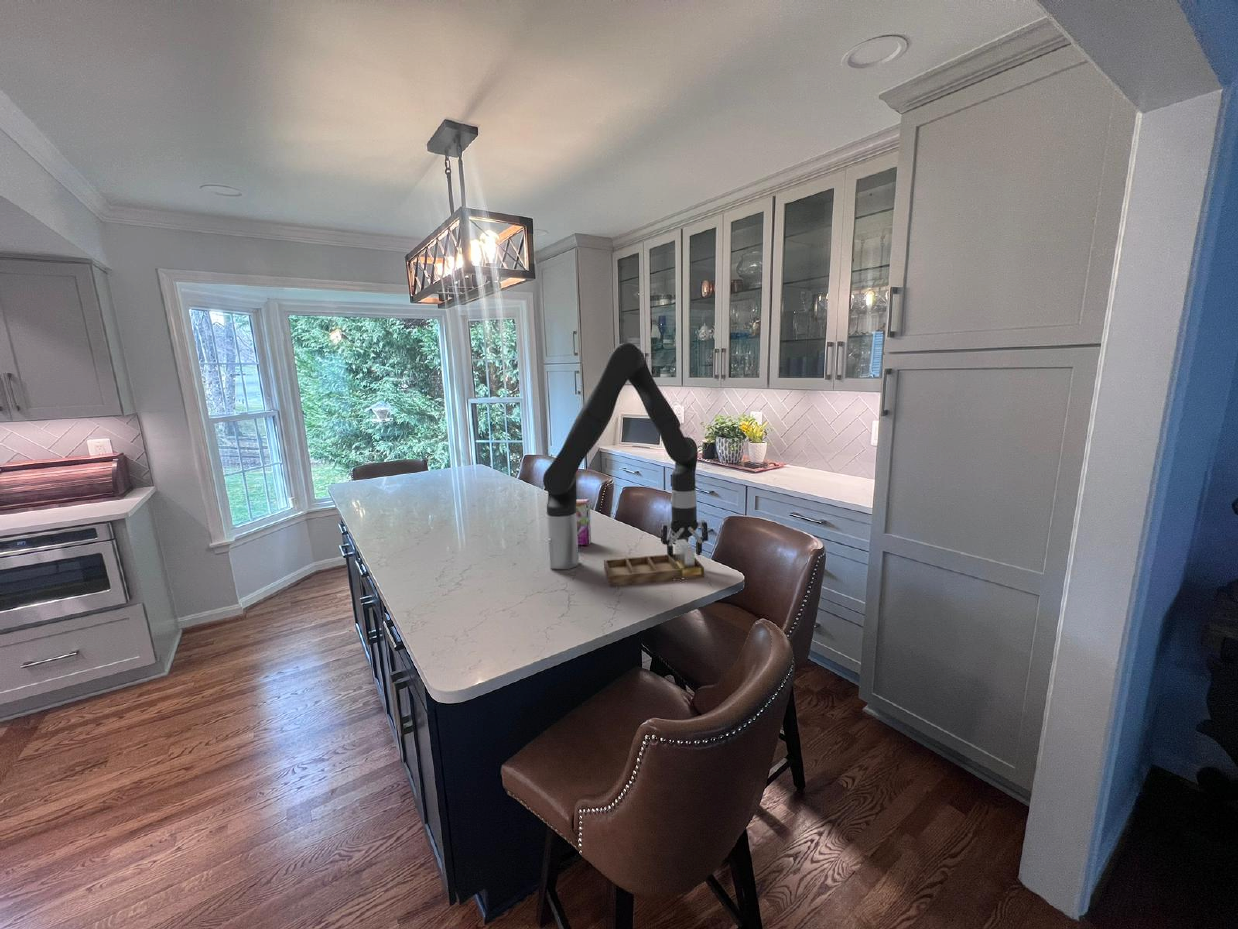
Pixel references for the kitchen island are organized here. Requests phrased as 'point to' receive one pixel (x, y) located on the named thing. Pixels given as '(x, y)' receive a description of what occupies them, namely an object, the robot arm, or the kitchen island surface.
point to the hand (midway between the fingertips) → (684, 555)
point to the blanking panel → (684, 554)
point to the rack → (648, 570)
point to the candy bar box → (583, 521)
